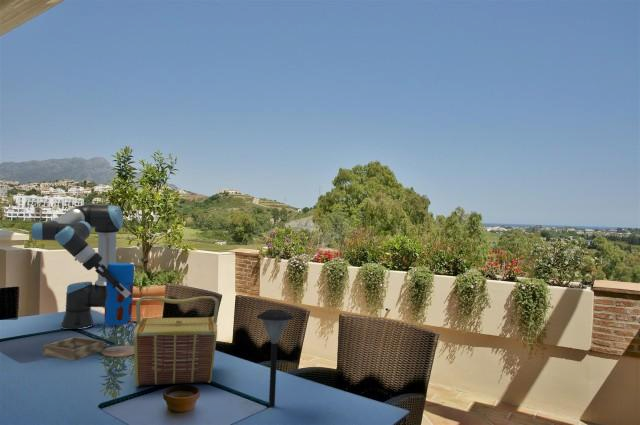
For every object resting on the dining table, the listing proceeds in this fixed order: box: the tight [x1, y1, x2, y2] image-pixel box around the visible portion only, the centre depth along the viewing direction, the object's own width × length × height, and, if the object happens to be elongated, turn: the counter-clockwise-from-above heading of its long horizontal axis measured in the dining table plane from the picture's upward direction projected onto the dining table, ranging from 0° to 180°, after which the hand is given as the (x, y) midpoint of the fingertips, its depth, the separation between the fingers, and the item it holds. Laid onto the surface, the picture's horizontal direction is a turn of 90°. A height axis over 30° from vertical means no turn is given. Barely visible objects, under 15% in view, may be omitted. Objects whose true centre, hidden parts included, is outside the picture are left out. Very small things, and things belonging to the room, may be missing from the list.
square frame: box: [42, 336, 106, 361], centre depth 197 cm, size 16×16×4 cm
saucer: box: [101, 345, 134, 358], centre depth 201 cm, size 16×16×1 cm
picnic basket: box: [133, 295, 220, 387], centre depth 170 cm, size 29×26×30 cm
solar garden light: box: [256, 309, 295, 408], centre depth 148 cm, size 12×12×30 cm
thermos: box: [104, 262, 135, 326], centre depth 201 cm, size 11×11×25 cm
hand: (126, 293), depth 202 cm, fingers closed on thermos, 11 cm apart
